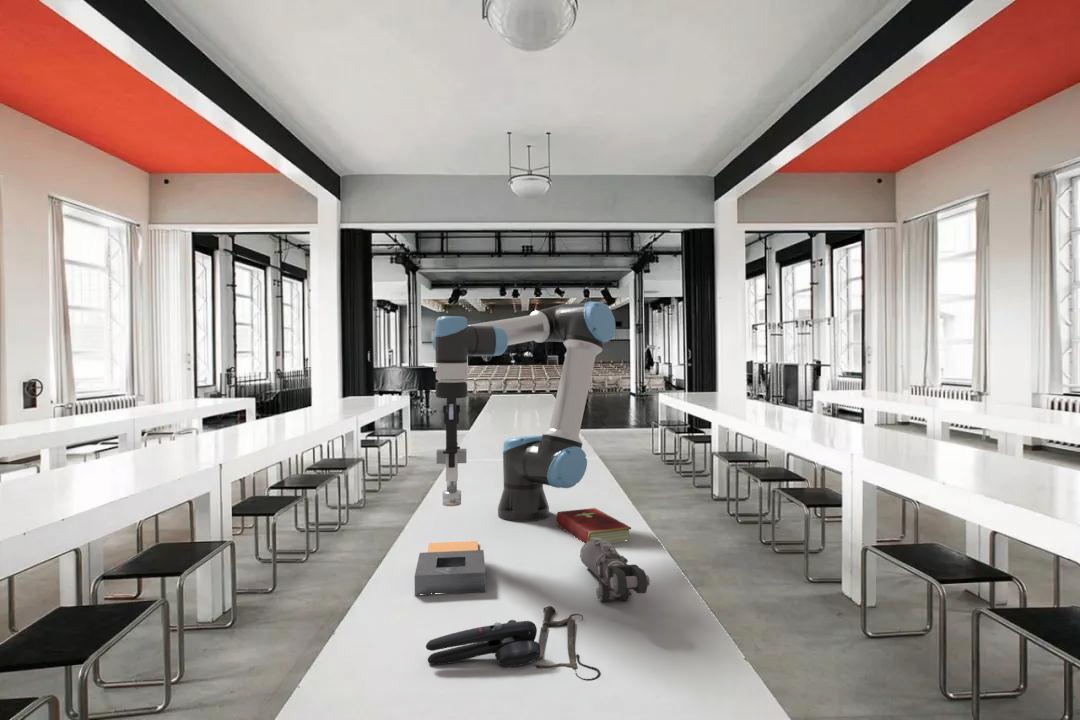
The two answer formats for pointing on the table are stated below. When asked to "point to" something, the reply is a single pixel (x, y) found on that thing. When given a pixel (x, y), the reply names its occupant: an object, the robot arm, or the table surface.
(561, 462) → the robot arm
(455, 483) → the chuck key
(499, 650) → the can opener
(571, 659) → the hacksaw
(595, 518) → the hardcover book
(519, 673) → the table surface
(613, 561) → the hydraulic cylinder
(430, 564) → the block
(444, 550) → the key mat
